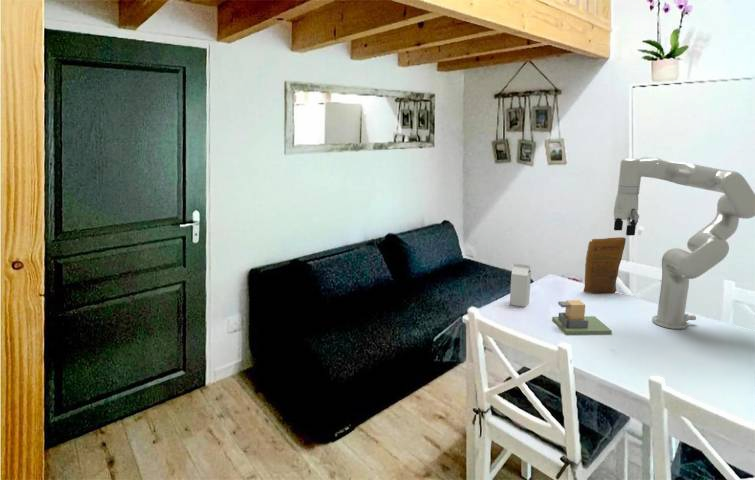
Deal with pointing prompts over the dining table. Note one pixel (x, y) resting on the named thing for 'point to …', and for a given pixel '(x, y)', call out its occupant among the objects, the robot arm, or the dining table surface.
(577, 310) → the tan wooden block
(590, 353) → the dining table surface
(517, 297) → the milk carton
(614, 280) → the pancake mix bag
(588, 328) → the green base plate
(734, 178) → the robot arm
